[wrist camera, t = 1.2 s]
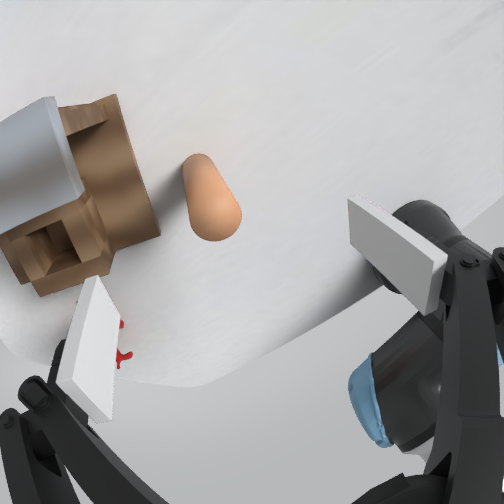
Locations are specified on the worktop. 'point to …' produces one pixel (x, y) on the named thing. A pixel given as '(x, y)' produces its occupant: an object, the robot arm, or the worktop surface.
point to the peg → (209, 200)
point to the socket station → (69, 192)
